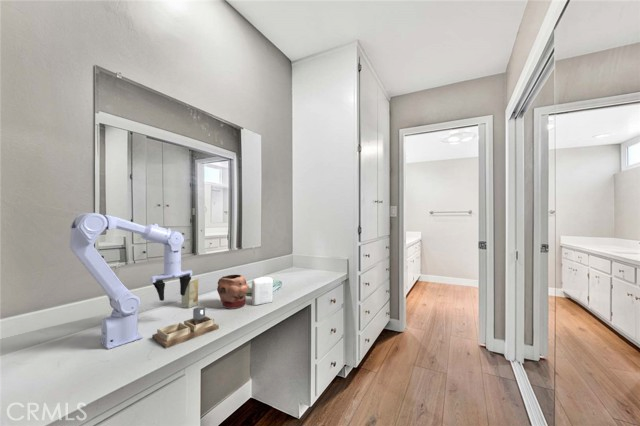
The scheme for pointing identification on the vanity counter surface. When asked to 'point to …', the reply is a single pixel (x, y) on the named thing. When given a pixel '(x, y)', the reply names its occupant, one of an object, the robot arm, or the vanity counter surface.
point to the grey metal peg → (198, 315)
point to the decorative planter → (232, 291)
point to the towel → (275, 286)
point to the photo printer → (262, 290)
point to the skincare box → (190, 294)
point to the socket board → (183, 332)
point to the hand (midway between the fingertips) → (172, 297)
